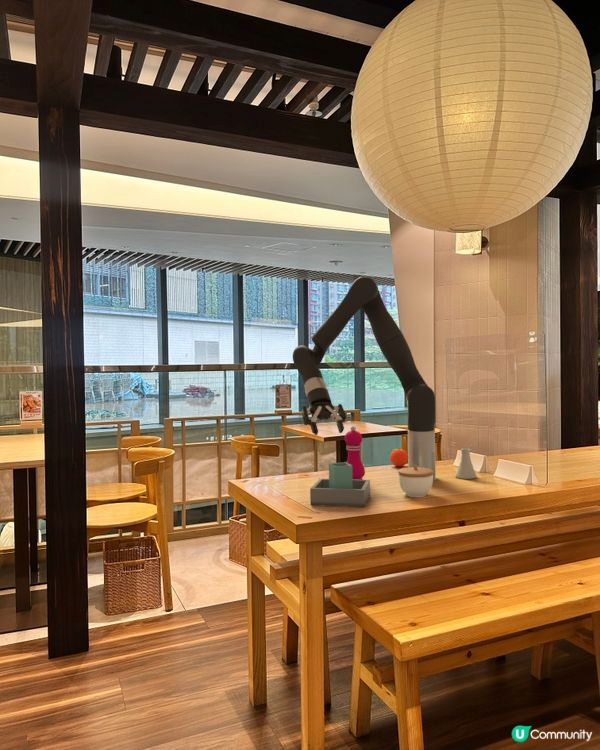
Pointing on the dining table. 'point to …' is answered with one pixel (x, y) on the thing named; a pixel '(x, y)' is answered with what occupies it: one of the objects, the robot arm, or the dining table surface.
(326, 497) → the tray
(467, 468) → the flask
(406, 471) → the lidded jar
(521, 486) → the dining table surface
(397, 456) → the clementine
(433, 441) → the robot arm
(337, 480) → the teal crate
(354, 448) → the pepper mill
